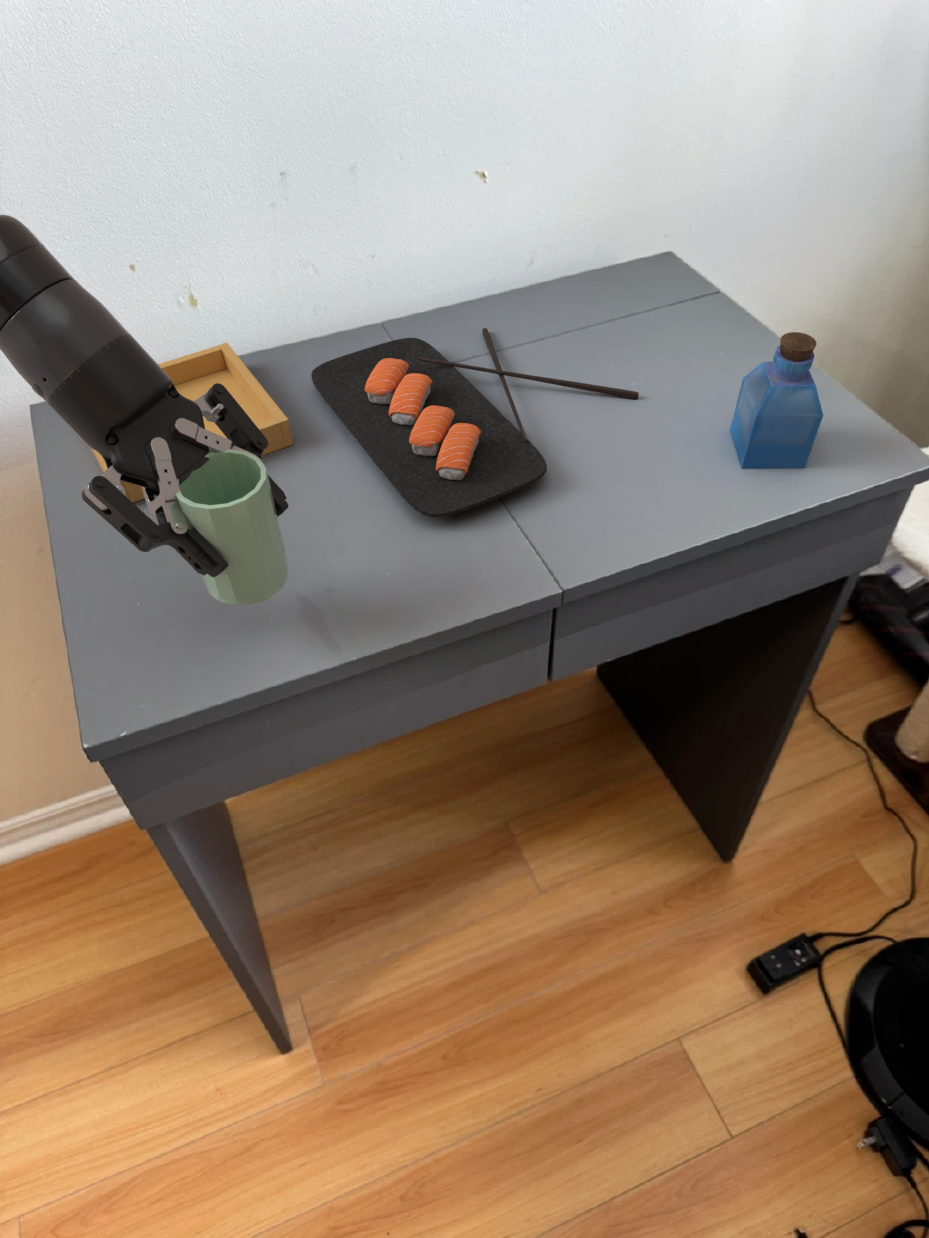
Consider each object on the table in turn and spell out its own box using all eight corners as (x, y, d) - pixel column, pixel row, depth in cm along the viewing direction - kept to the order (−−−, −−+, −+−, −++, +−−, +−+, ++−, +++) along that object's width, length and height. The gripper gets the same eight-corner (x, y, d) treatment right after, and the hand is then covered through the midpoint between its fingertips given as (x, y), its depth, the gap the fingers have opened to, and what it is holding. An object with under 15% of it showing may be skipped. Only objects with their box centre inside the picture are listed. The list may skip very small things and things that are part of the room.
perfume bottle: (805, 468, 86) (842, 360, 77) (741, 468, 86) (771, 360, 77) (790, 429, 90) (824, 323, 81) (729, 430, 90) (756, 323, 81)
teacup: (223, 617, 67) (191, 520, 60) (193, 566, 71) (160, 468, 63) (302, 585, 69) (280, 487, 62) (269, 536, 73) (245, 439, 66)
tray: (121, 507, 84) (110, 482, 81) (74, 418, 93) (64, 393, 91) (293, 444, 90) (288, 419, 87) (232, 366, 99) (226, 342, 97)
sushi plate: (303, 383, 97) (298, 353, 94) (532, 310, 106) (533, 280, 103) (426, 539, 80) (424, 507, 77) (684, 435, 89) (691, 403, 86)
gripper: (19, 395, 54) (210, 590, 59) (174, 293, 63) (330, 471, 67) (-6, 441, 60) (171, 615, 65) (139, 342, 68) (286, 502, 73)
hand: (252, 541), depth 66 cm, fingers closed on teacup, 6 cm apart
